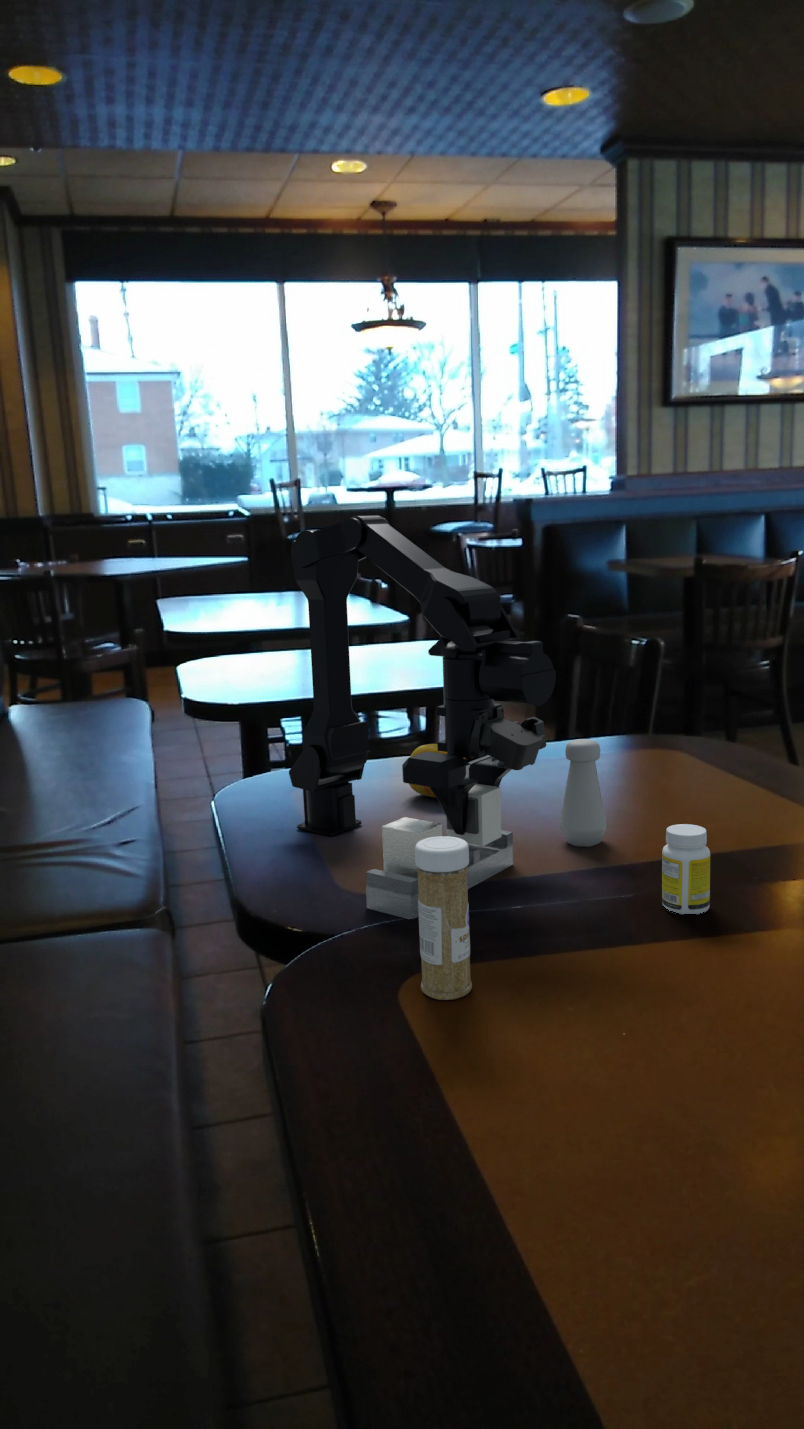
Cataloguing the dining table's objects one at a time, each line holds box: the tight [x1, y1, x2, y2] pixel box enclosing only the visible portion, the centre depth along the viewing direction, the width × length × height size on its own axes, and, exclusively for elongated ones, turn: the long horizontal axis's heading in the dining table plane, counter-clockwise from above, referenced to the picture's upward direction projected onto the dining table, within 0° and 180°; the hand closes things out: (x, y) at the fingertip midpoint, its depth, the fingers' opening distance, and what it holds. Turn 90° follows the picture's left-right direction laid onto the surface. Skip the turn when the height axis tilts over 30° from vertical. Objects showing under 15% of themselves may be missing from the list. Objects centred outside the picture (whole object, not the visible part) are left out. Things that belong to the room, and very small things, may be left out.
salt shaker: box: [559, 738, 607, 847], centre depth 125 cm, size 6×6×13 cm
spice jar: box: [415, 835, 473, 1001], centre depth 86 cm, size 5×5×14 cm
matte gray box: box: [445, 784, 502, 846], centre depth 116 cm, size 5×5×6 cm
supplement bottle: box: [661, 823, 711, 915], centre depth 103 cm, size 5×5×8 cm
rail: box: [365, 816, 514, 920], centre depth 112 cm, size 6×20×8 cm, turn 143°
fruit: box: [408, 743, 465, 799], centre depth 149 cm, size 10×9×8 cm
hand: (471, 828), depth 117 cm, fingers closed on matte gray box, 4 cm apart
